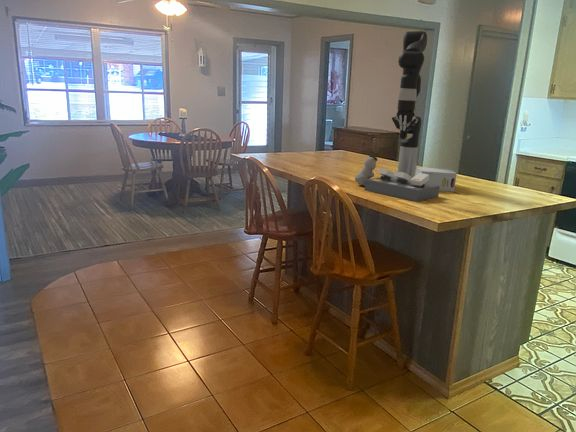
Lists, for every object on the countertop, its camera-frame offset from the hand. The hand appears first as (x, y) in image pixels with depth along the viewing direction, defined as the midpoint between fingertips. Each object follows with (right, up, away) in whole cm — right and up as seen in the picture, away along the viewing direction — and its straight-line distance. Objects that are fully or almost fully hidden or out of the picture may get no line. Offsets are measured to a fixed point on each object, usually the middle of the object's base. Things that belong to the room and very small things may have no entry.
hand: (403, 139), depth 206 cm
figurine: (-14, -20, +20) cm, 32 cm away
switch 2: (0, -18, +3) cm, 18 cm away
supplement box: (+21, -21, +22) cm, 37 cm away
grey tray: (0, -24, +6) cm, 25 cm away
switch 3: (+7, -19, -2) cm, 21 cm away
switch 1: (-6, -16, +10) cm, 19 cm away
